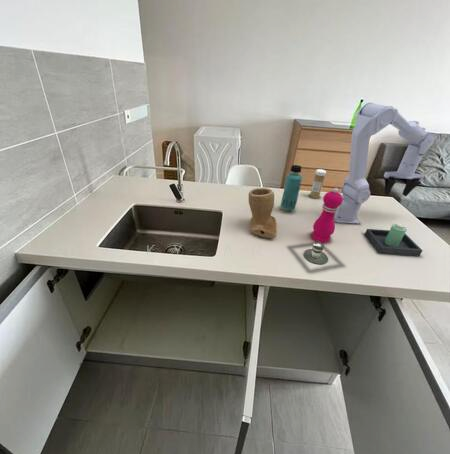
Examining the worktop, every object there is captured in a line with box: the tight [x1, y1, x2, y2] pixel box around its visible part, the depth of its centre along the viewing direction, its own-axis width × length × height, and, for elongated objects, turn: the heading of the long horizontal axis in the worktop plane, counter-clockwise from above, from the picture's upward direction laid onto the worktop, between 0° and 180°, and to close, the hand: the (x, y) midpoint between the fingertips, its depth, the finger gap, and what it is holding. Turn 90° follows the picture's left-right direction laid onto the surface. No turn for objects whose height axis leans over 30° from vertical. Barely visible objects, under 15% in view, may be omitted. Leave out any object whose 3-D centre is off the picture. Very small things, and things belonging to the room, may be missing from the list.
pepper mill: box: [311, 187, 343, 244], centre depth 84 cm, size 7×7×20 cm
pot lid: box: [303, 241, 329, 265], centre depth 79 cm, size 12×12×5 cm
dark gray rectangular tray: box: [364, 228, 423, 257], centre depth 87 cm, size 14×12×2 cm
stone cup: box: [248, 187, 278, 239], centre depth 89 cm, size 15×12×15 cm
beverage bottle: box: [280, 164, 303, 211], centre depth 101 cm, size 6×7×20 cm
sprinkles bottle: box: [309, 168, 327, 199], centre depth 116 cm, size 5×5×14 cm
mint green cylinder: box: [384, 222, 408, 247], centre depth 86 cm, size 4×4×8 cm
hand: (395, 194), depth 102 cm, fingers open, 7 cm apart
